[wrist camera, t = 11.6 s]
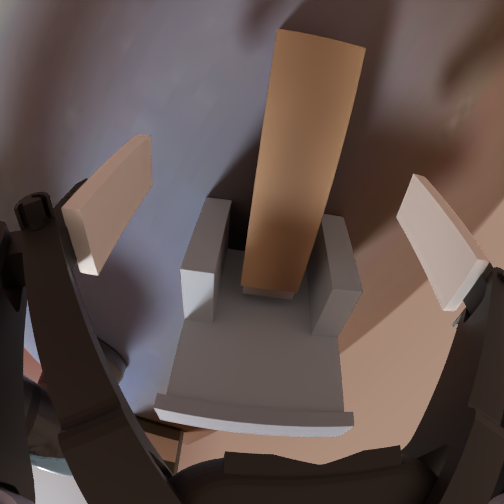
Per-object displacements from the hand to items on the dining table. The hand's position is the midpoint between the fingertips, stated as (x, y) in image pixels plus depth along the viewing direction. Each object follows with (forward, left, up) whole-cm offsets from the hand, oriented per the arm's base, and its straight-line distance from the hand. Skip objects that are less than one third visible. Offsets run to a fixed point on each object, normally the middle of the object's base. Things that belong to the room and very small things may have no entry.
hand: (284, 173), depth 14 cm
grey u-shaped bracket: (+1, -10, -7) cm, 12 cm away
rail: (+1, -1, -7) cm, 7 cm away
